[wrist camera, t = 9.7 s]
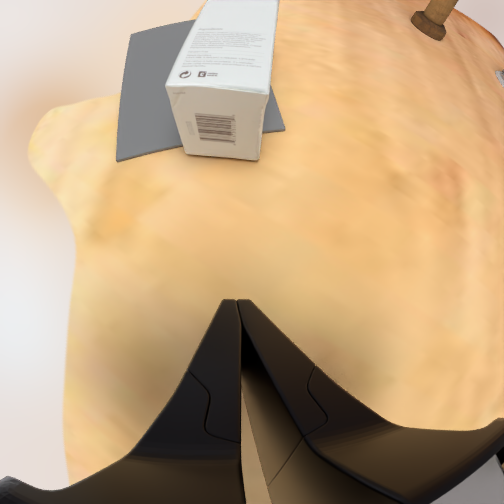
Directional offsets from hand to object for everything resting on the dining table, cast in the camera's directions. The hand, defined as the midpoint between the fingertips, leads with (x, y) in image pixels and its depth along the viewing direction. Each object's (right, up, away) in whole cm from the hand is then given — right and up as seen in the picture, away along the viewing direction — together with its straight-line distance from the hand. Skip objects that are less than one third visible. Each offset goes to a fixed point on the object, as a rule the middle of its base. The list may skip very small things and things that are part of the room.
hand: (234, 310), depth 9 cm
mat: (-6, +20, +14) cm, 25 cm away
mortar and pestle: (+31, +41, +20) cm, 56 cm away
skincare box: (-2, +9, +8) cm, 12 cm away
